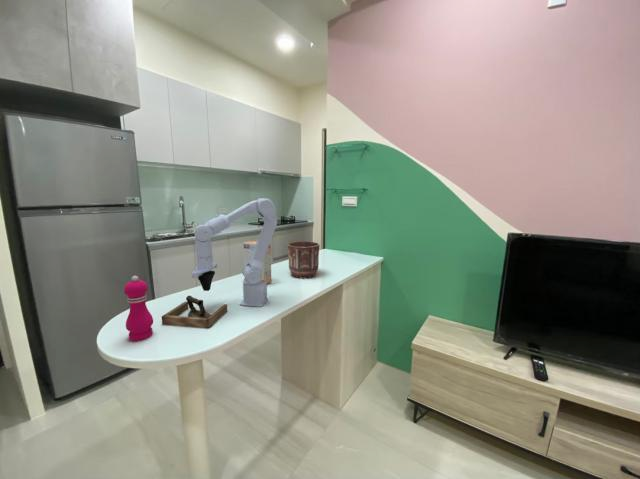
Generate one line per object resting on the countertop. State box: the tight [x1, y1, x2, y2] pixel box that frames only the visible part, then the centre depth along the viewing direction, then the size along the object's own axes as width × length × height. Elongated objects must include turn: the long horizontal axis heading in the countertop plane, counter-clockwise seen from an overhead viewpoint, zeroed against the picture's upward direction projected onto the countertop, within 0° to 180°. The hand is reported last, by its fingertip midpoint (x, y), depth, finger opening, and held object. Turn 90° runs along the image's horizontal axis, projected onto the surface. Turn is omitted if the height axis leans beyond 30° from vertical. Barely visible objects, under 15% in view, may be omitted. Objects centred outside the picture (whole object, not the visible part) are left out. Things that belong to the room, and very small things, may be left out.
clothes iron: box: [185, 295, 212, 318], centre depth 97 cm, size 7×11×10 cm, turn 53°
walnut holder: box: [161, 301, 228, 329], centre depth 97 cm, size 17×13×3 cm
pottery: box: [286, 241, 320, 279], centre depth 150 cm, size 18×18×18 cm
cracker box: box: [243, 240, 272, 285], centre depth 137 cm, size 14×6×21 cm, turn 58°
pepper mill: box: [123, 275, 154, 342], centre depth 83 cm, size 7×7×20 cm
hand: (206, 290), depth 104 cm, fingers closed
